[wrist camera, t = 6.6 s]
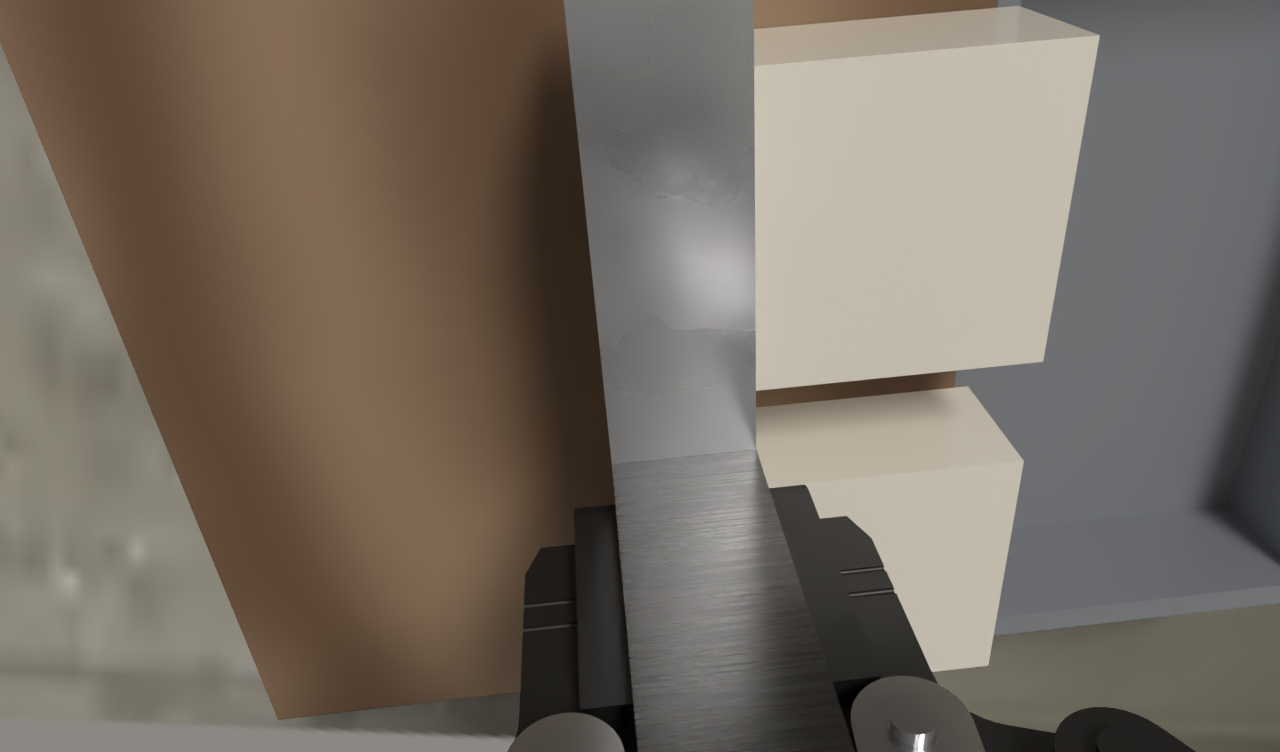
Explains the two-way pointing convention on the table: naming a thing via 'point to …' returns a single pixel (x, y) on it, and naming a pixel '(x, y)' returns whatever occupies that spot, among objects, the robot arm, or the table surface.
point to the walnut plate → (356, 305)
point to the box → (1156, 332)
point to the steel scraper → (690, 381)
